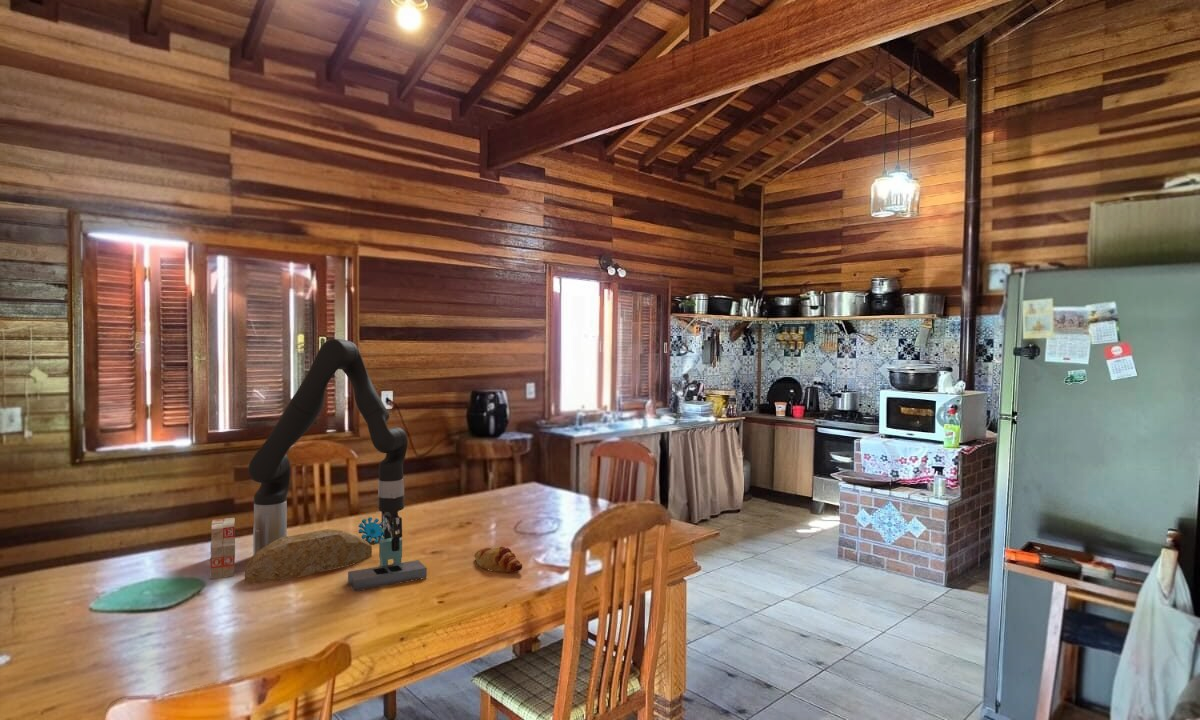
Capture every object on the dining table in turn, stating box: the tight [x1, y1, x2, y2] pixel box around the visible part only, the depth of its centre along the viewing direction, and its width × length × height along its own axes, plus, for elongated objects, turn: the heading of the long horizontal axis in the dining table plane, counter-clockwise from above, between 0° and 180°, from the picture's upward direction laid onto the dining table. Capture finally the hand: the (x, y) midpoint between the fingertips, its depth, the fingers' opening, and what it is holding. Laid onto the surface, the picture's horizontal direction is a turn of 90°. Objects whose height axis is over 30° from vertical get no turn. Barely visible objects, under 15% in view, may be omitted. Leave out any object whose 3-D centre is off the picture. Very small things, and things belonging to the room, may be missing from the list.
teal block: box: [378, 537, 403, 567], centre depth 203 cm, size 6×3×8 cm, turn 122°
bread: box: [244, 528, 373, 584], centre depth 200 cm, size 36×11×10 cm, turn 133°
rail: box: [347, 559, 428, 592], centre depth 190 cm, size 20×8×3 cm, turn 122°
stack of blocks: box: [209, 517, 236, 580], centre depth 200 cm, size 21×6×12 cm, turn 29°
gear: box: [358, 516, 385, 544], centre depth 228 cm, size 11×6×10 cm
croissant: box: [474, 545, 523, 574], centre depth 203 cm, size 21×10×8 cm, turn 50°
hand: (391, 547), depth 203 cm, fingers open, 8 cm apart
